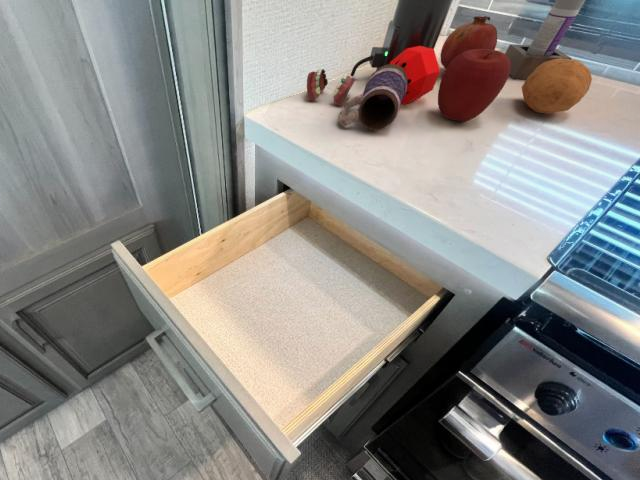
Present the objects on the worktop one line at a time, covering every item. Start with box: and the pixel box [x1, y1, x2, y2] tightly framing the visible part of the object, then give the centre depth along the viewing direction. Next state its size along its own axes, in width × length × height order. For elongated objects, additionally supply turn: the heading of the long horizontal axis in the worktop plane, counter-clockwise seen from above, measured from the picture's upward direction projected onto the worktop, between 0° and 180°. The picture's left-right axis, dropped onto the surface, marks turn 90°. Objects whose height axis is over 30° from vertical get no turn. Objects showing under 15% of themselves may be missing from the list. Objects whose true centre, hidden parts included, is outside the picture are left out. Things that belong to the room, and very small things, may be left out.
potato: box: [521, 58, 593, 115], centre depth 57 cm, size 9×11×8 cm
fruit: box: [440, 15, 498, 69], centre depth 68 cm, size 11×10×10 cm
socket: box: [504, 43, 573, 80], centre depth 71 cm, size 9×9×4 cm
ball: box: [390, 46, 441, 105], centre depth 60 cm, size 8×8×8 cm
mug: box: [337, 64, 408, 132], centre depth 56 cm, size 10×7×12 cm
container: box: [527, 0, 586, 56], centre depth 67 cm, size 5×5×15 cm
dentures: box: [306, 68, 356, 106], centre depth 62 cm, size 6×5×9 cm
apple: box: [437, 49, 510, 122], centre depth 54 cm, size 10×10×10 cm
